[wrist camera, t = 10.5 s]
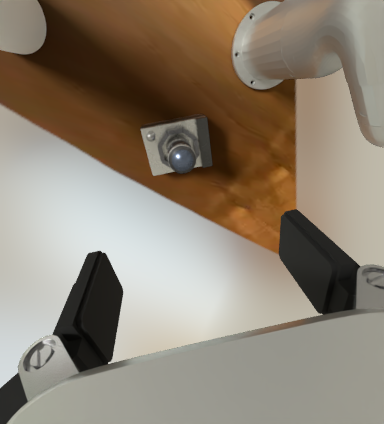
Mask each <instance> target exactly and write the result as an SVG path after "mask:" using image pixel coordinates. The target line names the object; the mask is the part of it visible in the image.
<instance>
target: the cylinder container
mask: <svg viewBox="0 0 384 424" xmlns="http://www.w3.org/2000/svg"><path fill="white" fill-rule="evenodd" d="M45 38H46V21H45V16H44V13H43V11H42V8H41V6H40V4H39V2H38V1H37V0H0V50H3V51H8V52H12V53H17V54H31V53H34V52H36V51H37V50H38V49H40V48H41V46H42V45H43V43H44V41H45Z"/></svg>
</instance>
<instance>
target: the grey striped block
mask: <svg viewBox="0 0 384 424" xmlns="http://www.w3.org/2000/svg"><path fill="white" fill-rule="evenodd" d="M141 133H142V137H143V141H144V144H145V148H146V152H147V155H148V159H149V163H150V166H151V170H152V174H153V176H155V175H160V174H165V173H170V172H175V171H174V170H172V169H171V168H170V166H169V163H168V155H167V144H168V142H169V140H170V139H171V138H173V137H175V136H182V137H184V138H186V139H187V140H188V142H189V144H190V145H191V147H192V149H193V150H194V152H195V154H196V164H195V166H194V168H195V167H200V166H202V167H203V168H204V167H209V166H213V165H212V156H211V148H210V139H209V130H208V122H207V117H206V116H205V115H204V114H196V115H191V116H185V117H180V118H175V119H170V120H165V121H160V122H154V123H149V124H144V125H142V126H141Z"/></svg>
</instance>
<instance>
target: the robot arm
mask: <svg viewBox="0 0 384 424" xmlns="http://www.w3.org/2000/svg"><path fill="white" fill-rule="evenodd" d="M250 16H251V19H250ZM236 53H237V57H236V56H235V54H236ZM232 62H233V67H234V70H235V72H236V74H237V76H238V78H239V79H240V80H241V81H242V82H243V83H244V84H245V85H247V86H248V87H251V88H253V89H269V88H272V87H274V86H276V85H278V84H279V83H281V82H282V81H283V80H284V79H301V78H302V79H303V78H320V77H324V76H327V75H330V74H332V73H334V72H336V71H338V70H339V69H341V68H342V67H343V70H344V73H345V77H346V81H347V83H348V86H349V89H350V94H351V98H352V102H353V105H354V109H355V113H356V117H357V120H358V124H359V127H360V130H361V132H362V134H363V136H364V137H365V138H366V140H368V141H369V142H370V143H372V144H373V145H376V146H379V147H382V148H384V0H285V1H284V2H282V3H281V2H277V1H268V2H265V3H262V4H260V5H258V6H256V7H254V8H253V9H252V10H251V11H249V12H248V14H247V15H246V16H245V17H244V18H243V19H242V21H241V22H240V24H239V26H238V28H237V30H236V32H235V35H234V39H233V43H232ZM251 81H252V84H251ZM279 256H280V259H281V260H282V262H283V263H284V265H285V266H286V268H287V269H288V270H289V272H290V273H291V275H292V276H293V278H294V279H295V281H296V282H297V283H298V285H299V286H300V288H301V289H302V291H303V292H304V293H305V295H306V296H307V298H308V299H309V301H310V302H311V303H312V305H313V306H314V308H315V309H316V311H317V312H318V313H320V314H321V313H322V314H323V315H320V316H316V317H311V318H306V319H301V320H297V321H292V322H288V323H283V324H279V325H274V326H270V327H265V328H261V329H256V330H252V331H247V332H243V333H238V334H234V335H230V336H225V337H221V338H217V339H212V340H208V341H203V342H199V343H195V344H190V345H186V346H182V347H177V348H174V349H169V350H165V351H160V352H156V353H152V354H148V355H143V356H139V357H135V358H131V359H127V360H123V361H119V362H115V363H111V364H108V362H110V361H111V360H112V357H113V351H114V345H115V339H116V332H117V327H118V321H119V315H120V309H121V303H122V297H123V289H122V286H121V284H120V282H119V280H118V278H117V276H116V274H115V272H114V270H113V268H112V265H111V263H110V261H109V259H108V257H107V255H106V254H105V253H102V252H101V251H97V252H92V253H89V254H88V255H87V257H86V259H85V262H84V264H83V266H82V269H81V271H80V274H79V276H78V278H77V281H76V283H75V284H74V285H73V287H72V289H71V292H70V294H69V296H68V299H67V301H66V304H65V306H64V308H63V311H62V313H61V315H60V318H59V320H58V323H57V325H56V327H55V330H54V332H53V335H49V336H45V337H43V338H40V339H39V340H38V341H36V342H34V343H33V344H32V345H31V346H30V347H29V348H28V349H27V350H26V351H25V353H24V354H23V356H22V357H21V360H20V362H19V365H18V373H17V374H16V375H15V376H14V377H13V378H12V379H11V380H9V381H8V382H7V383H6V384H5V385H4V386H2V387H1V388H0V424H384V267H382V266H377V265H364V266H361V267H360V266H359V265H358V264H357V263H356V262H355V261H354V260H353V259H352V258H351V257H349V256H348V255H347V254H346V253H345V252H344V251H343V250H341V248H339V247H338V246H337V245H336V244H335V243H334V242H333V241H332V240H330V239H329V238H328V237H327V236H326V235H325V234H324V233H323V232H321V231H320V230H319V229H318V228H317V227H316V226H315V225H314V224H313V223H311V222H310V221H309V220H308V219H307V218H306V217H305V216H304V215H303V214H302V213H300V212H299V211H298V210H296V209H295V210H291V211H286V212H285V213H284V215H282V216H281V227H280V244H279Z"/></svg>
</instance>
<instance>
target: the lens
mask: <svg viewBox="0 0 384 424" xmlns="http://www.w3.org/2000/svg"><path fill="white" fill-rule="evenodd" d="M167 155H168V163H169V166H170V168H171V169H172V170H174V171H175V172H177V173H181V174H182V173H187V172H189V171H191V170H192V169H193V168H194V166H195V164H196V154H195V152H194V150H193V149H192V147H191V145H190V144H189V142H188V140H187V139H186V138H184V137H182V136H175V137H173V138H171V139H170V140H169V142H168V144H167Z"/></svg>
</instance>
